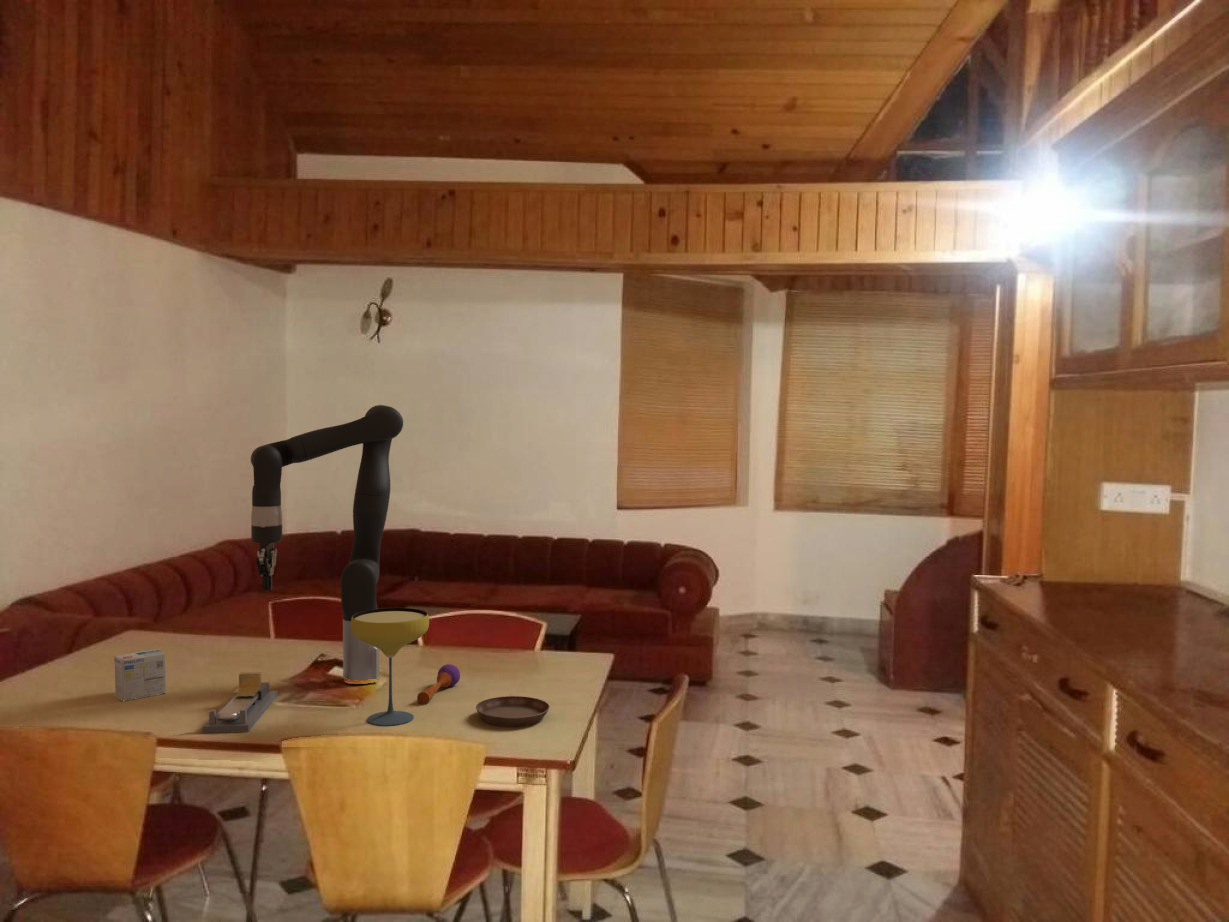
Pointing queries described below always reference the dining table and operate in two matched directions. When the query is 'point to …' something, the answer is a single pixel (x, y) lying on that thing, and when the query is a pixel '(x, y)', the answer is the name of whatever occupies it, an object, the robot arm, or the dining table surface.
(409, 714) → the cocktail glass
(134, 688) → the light bulb box
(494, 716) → the plant saucer
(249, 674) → the block
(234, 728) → the base
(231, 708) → the grey flat bar
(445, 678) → the purple maraca
